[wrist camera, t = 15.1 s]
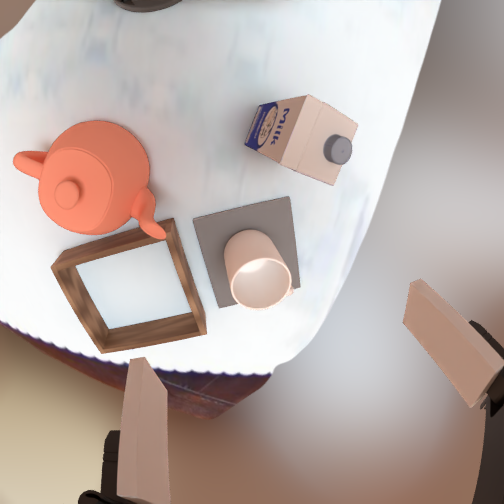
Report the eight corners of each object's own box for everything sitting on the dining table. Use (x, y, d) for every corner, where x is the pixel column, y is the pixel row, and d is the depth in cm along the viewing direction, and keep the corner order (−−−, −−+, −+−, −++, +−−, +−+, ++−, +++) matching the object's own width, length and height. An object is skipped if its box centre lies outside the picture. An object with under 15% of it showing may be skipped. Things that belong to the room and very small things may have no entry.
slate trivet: (192, 218, 45) (192, 220, 44) (288, 196, 46) (289, 197, 45) (218, 305, 53) (219, 308, 52) (299, 284, 54) (300, 287, 54)
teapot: (197, 159, 41) (197, 175, 29) (153, 249, 46) (141, 295, 34) (64, 101, 32) (19, 99, 20) (33, 194, 37) (-10, 221, 25)
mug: (268, 288, 52) (283, 325, 43) (213, 259, 48) (218, 295, 38) (297, 253, 50) (319, 285, 41) (242, 218, 45) (255, 246, 36)
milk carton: (260, 104, 38) (308, 92, 21) (299, 120, 40) (369, 125, 23) (243, 145, 41) (279, 165, 23) (283, 160, 43) (342, 191, 25)
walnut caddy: (63, 251, 42) (50, 267, 37) (173, 217, 44) (170, 231, 39) (107, 333, 52) (101, 353, 46) (205, 313, 53) (206, 334, 48)
